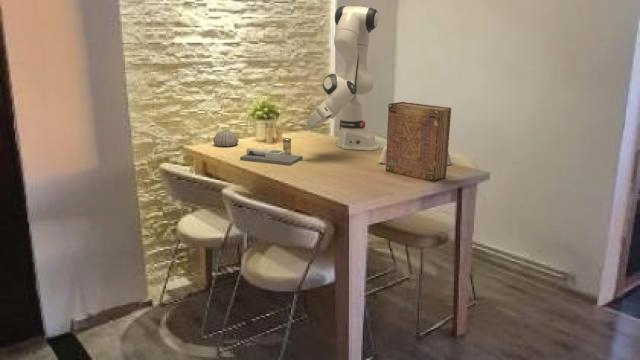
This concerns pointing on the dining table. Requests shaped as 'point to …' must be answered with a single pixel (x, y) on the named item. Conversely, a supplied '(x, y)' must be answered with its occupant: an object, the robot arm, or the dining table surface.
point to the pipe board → (270, 156)
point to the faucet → (383, 155)
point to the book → (418, 140)
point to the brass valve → (287, 146)
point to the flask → (449, 160)
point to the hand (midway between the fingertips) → (309, 128)
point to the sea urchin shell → (225, 138)
